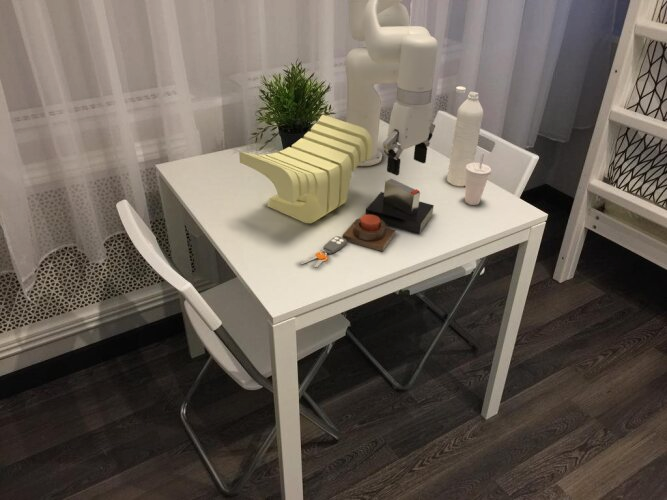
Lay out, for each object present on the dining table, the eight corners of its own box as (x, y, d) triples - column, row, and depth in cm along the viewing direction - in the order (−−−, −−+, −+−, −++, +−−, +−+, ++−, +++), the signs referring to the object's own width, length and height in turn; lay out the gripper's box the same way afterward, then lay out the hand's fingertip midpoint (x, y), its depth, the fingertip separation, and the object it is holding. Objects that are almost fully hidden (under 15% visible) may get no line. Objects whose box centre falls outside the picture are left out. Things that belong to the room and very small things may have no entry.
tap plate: (364, 219, 144) (365, 209, 142) (380, 202, 151) (381, 191, 150) (419, 234, 139) (420, 223, 137) (432, 215, 146) (433, 205, 145)
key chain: (334, 239, 136) (335, 233, 135) (348, 244, 134) (348, 239, 133) (300, 264, 127) (300, 259, 126) (314, 270, 125) (314, 265, 125)
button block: (342, 240, 136) (342, 227, 134) (356, 224, 142) (357, 211, 140) (382, 252, 132) (383, 238, 130) (395, 235, 138) (396, 222, 136)
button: (357, 228, 134) (357, 221, 133) (364, 219, 138) (365, 212, 137) (375, 233, 133) (375, 226, 132) (382, 224, 136) (383, 217, 135)
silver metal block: (383, 201, 145) (385, 180, 142) (389, 198, 147) (391, 177, 143) (411, 215, 140) (414, 194, 137) (417, 212, 141) (420, 190, 138)
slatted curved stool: (293, 242, 134) (293, 172, 124) (243, 219, 142) (239, 151, 132) (368, 194, 154) (373, 130, 144) (320, 176, 162) (322, 114, 152)
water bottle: (475, 182, 162) (492, 94, 148) (459, 189, 159) (475, 98, 145) (451, 170, 168) (465, 84, 154) (435, 176, 164) (448, 88, 150)
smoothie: (470, 209, 150) (479, 159, 142) (454, 198, 154) (463, 149, 146) (489, 204, 152) (500, 154, 144) (474, 193, 157) (483, 144, 149)
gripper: (424, 83, 135) (416, 152, 144) (374, 99, 125) (369, 172, 134) (451, 91, 131) (441, 162, 140) (402, 108, 120) (394, 183, 130)
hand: (406, 167), depth 137 cm, fingers open, 9 cm apart
